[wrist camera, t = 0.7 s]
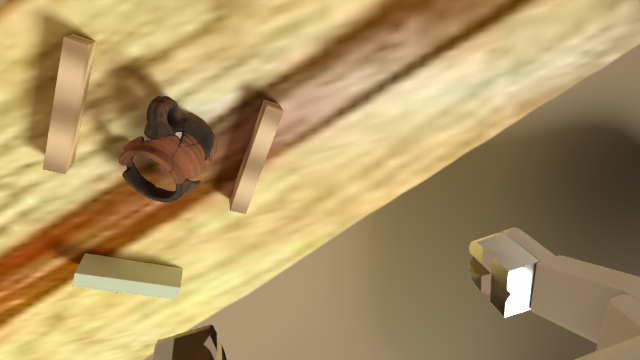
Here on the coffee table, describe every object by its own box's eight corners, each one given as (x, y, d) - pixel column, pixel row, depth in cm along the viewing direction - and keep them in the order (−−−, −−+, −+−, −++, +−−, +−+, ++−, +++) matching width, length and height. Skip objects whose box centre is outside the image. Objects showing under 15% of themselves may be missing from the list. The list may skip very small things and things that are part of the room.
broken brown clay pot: (228, 169, 49) (198, 214, 43) (161, 158, 50) (123, 201, 44) (211, 82, 41) (172, 123, 35) (132, 73, 42) (81, 110, 36)
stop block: (85, 253, 48) (74, 273, 45) (182, 268, 53) (180, 287, 49) (82, 265, 49) (72, 286, 45) (178, 279, 53) (176, 299, 50)
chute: (73, 34, 38) (63, 36, 35) (279, 104, 46) (283, 111, 43) (53, 158, 42) (42, 169, 40) (243, 202, 51) (245, 213, 48)
